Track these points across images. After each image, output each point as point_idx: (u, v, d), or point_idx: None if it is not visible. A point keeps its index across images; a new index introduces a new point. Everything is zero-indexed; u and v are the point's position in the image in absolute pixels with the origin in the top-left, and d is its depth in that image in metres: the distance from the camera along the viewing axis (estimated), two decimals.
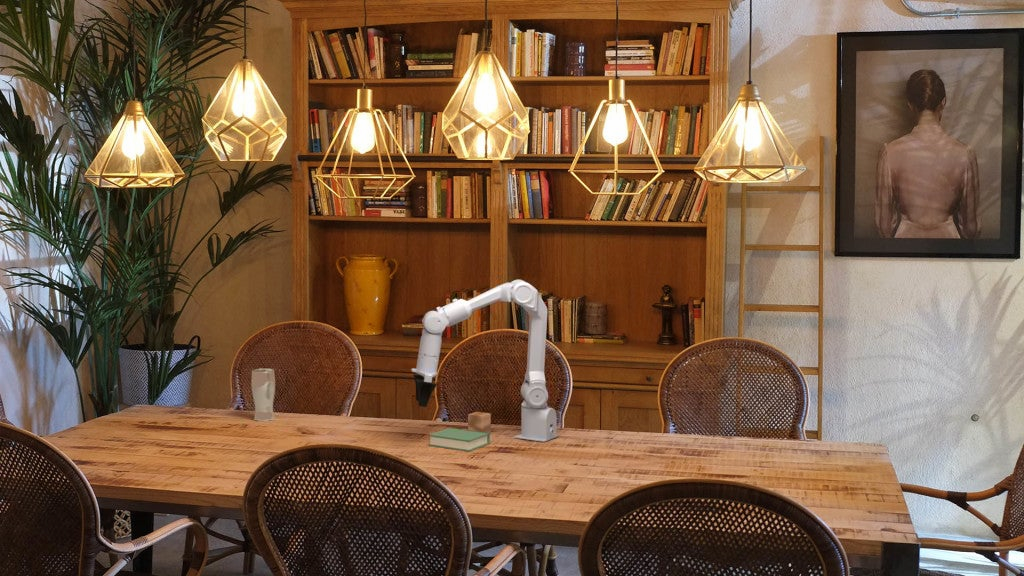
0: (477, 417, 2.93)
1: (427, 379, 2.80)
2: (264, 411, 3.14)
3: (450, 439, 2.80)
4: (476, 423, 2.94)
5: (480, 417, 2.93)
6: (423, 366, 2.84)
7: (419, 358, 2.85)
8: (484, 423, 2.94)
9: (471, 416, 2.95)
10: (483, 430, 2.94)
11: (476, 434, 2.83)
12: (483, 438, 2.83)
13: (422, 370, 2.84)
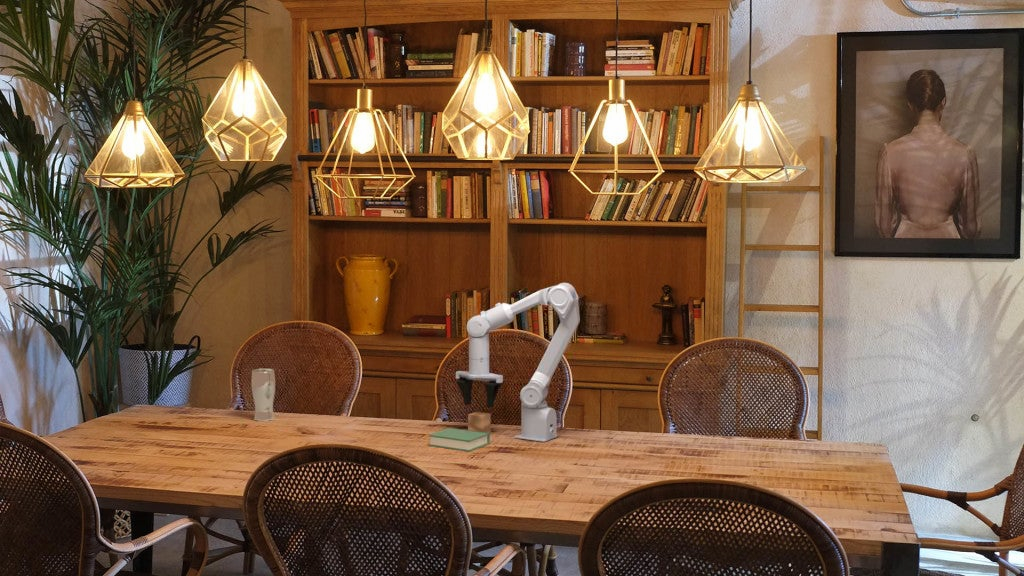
0: (477, 417, 2.93)
1: (500, 380, 2.91)
2: (264, 411, 3.14)
3: (450, 439, 2.80)
4: (476, 423, 2.94)
5: (480, 417, 2.93)
6: (484, 370, 2.92)
7: (477, 363, 2.92)
8: (484, 423, 2.94)
9: (471, 416, 2.95)
10: (483, 430, 2.94)
11: (476, 434, 2.83)
12: (483, 438, 2.83)
13: (484, 373, 2.92)
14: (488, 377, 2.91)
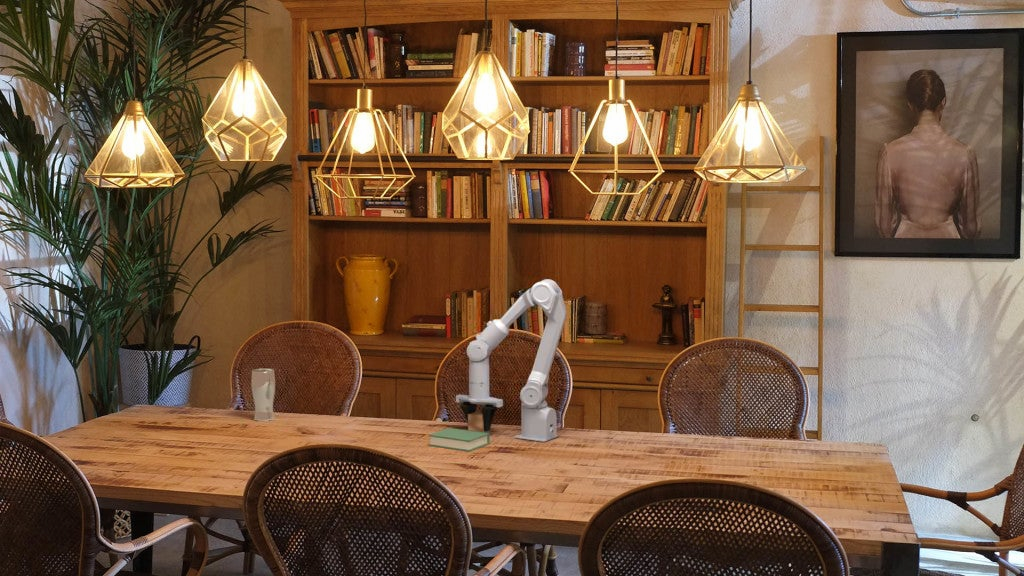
0: (477, 417, 2.93)
1: (500, 404, 2.92)
2: (264, 411, 3.14)
3: (450, 439, 2.80)
4: (476, 423, 2.94)
5: (480, 417, 2.93)
6: (484, 394, 2.93)
7: (478, 388, 2.92)
8: None
9: (471, 416, 2.95)
10: (483, 430, 2.94)
11: (476, 434, 2.83)
12: (483, 438, 2.83)
13: (484, 398, 2.93)
14: (488, 401, 2.92)
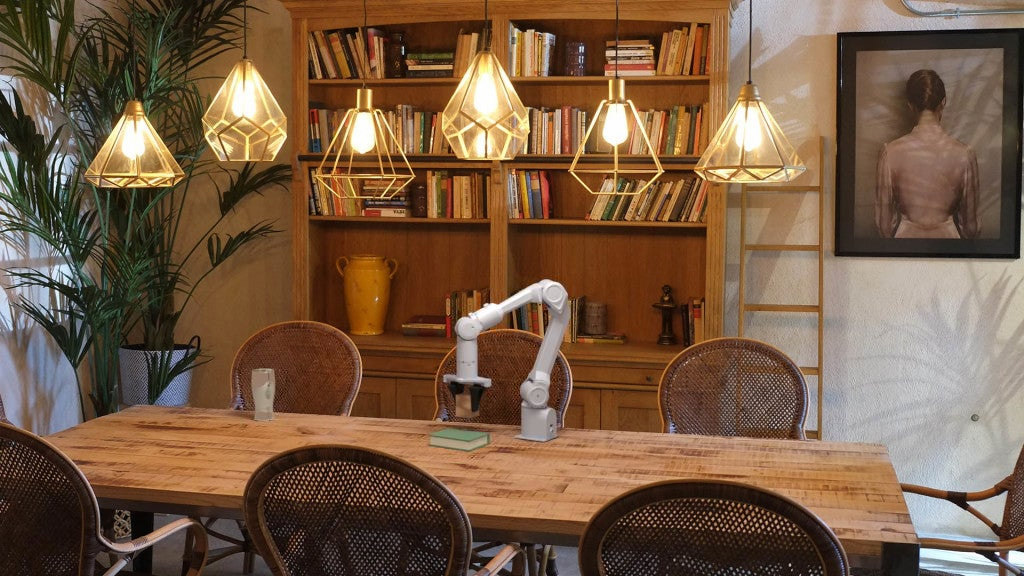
0: (465, 397, 2.86)
1: (488, 384, 2.84)
2: (264, 411, 3.14)
3: (450, 439, 2.80)
4: (464, 403, 2.86)
5: (468, 397, 2.85)
6: (472, 373, 2.85)
7: (465, 367, 2.84)
8: None
9: (459, 396, 2.87)
10: (471, 411, 2.86)
11: (476, 434, 2.83)
12: (483, 438, 2.83)
13: (471, 377, 2.85)
14: (476, 381, 2.84)
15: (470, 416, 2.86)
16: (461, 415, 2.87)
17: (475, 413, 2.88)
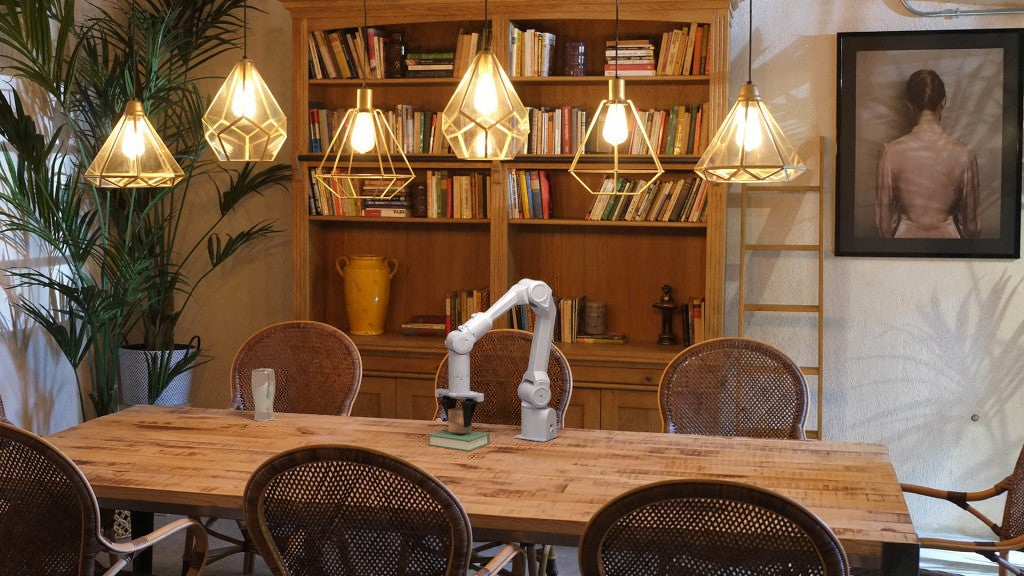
0: (458, 412, 2.81)
1: (481, 398, 2.79)
2: (264, 411, 3.14)
3: (450, 439, 2.80)
4: (457, 418, 2.82)
5: (461, 412, 2.81)
6: (464, 388, 2.80)
7: (457, 381, 2.80)
8: None
9: (451, 411, 2.82)
10: None
11: (476, 434, 2.83)
12: (483, 438, 2.83)
13: (464, 392, 2.80)
14: (468, 395, 2.79)
15: (463, 431, 2.81)
16: (454, 430, 2.82)
17: (468, 428, 2.83)
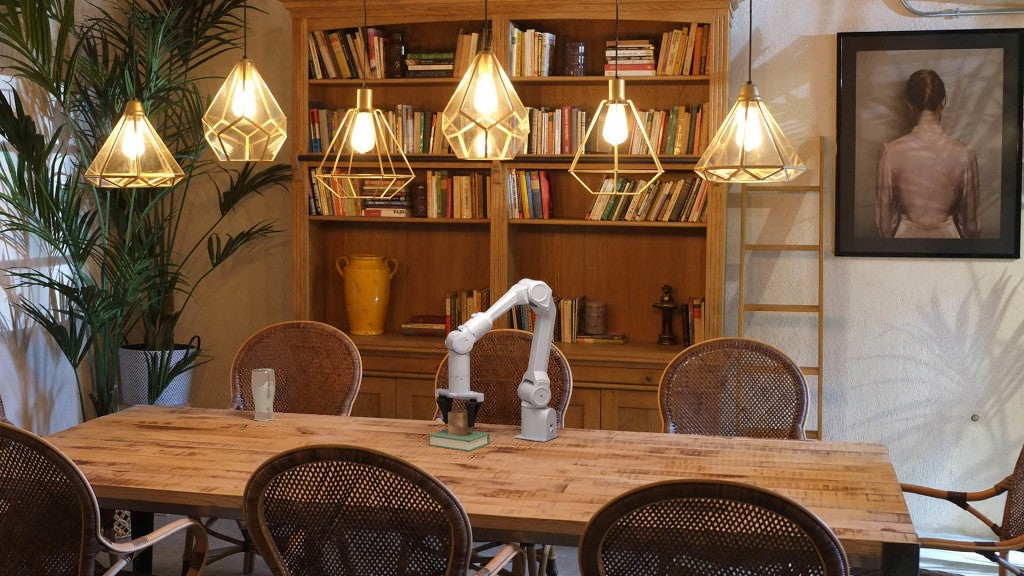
0: (457, 415, 2.81)
1: (481, 398, 2.79)
2: (264, 411, 3.14)
3: (450, 439, 2.80)
4: (456, 421, 2.82)
5: (460, 415, 2.81)
6: (464, 388, 2.80)
7: (457, 381, 2.80)
8: (465, 421, 2.82)
9: (451, 414, 2.82)
10: (464, 429, 2.82)
11: (476, 434, 2.83)
12: (483, 438, 2.83)
13: (464, 392, 2.80)
14: (468, 395, 2.79)
15: (463, 434, 2.81)
16: (453, 433, 2.82)
17: (468, 431, 2.83)
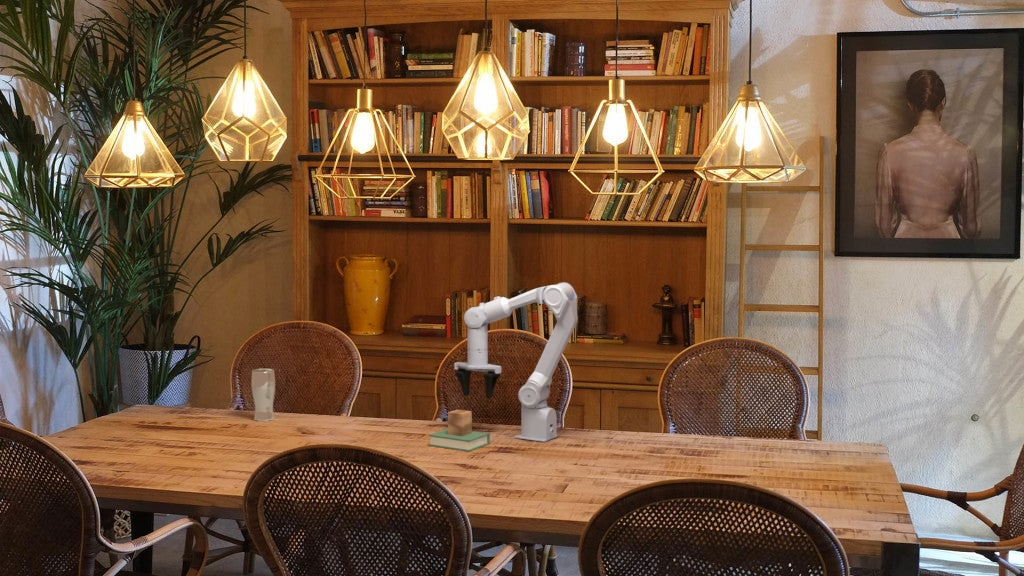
0: (457, 415, 2.81)
1: (499, 370, 2.94)
2: (264, 411, 3.14)
3: (450, 439, 2.80)
4: (456, 421, 2.82)
5: (460, 415, 2.81)
6: (483, 361, 2.95)
7: (476, 354, 2.94)
8: (465, 421, 2.82)
9: (451, 414, 2.82)
10: (464, 429, 2.82)
11: (476, 434, 2.83)
12: (483, 438, 2.83)
13: (482, 364, 2.95)
14: (487, 368, 2.94)
15: (463, 434, 2.81)
16: (453, 433, 2.82)
17: (468, 431, 2.83)
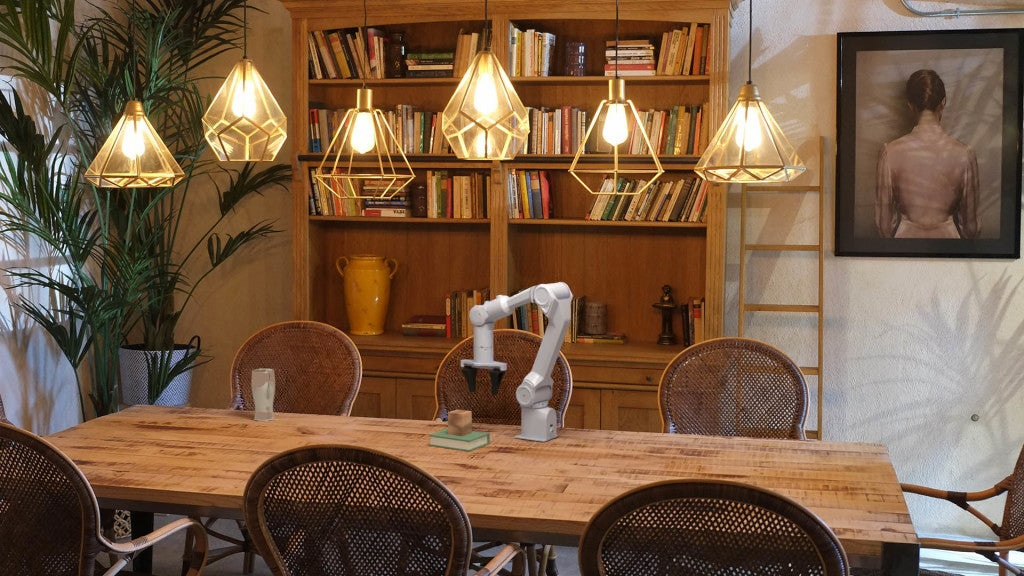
0: (457, 415, 2.81)
1: (504, 367, 2.98)
2: (264, 411, 3.14)
3: (450, 439, 2.80)
4: (456, 421, 2.82)
5: (460, 415, 2.81)
6: (488, 358, 3.00)
7: (482, 351, 2.99)
8: (465, 421, 2.82)
9: (451, 414, 2.82)
10: (464, 429, 2.82)
11: (476, 434, 2.83)
12: (483, 438, 2.83)
13: (488, 362, 3.00)
14: (492, 365, 2.99)
15: (463, 434, 2.81)
16: (453, 433, 2.82)
17: (468, 431, 2.83)
